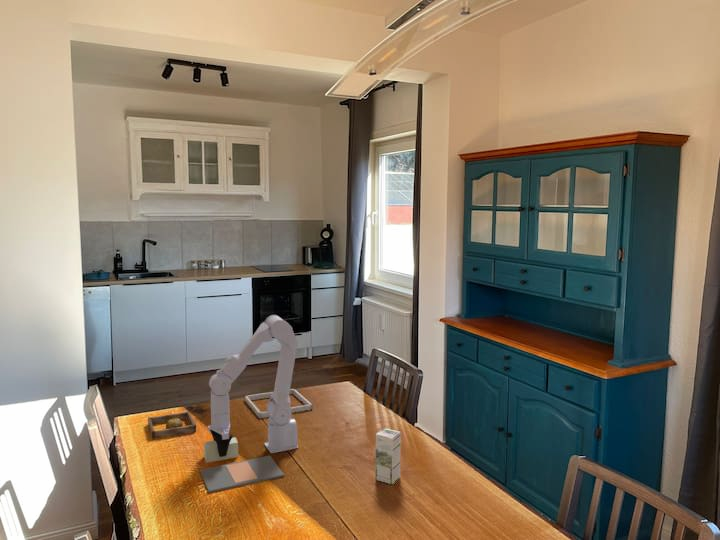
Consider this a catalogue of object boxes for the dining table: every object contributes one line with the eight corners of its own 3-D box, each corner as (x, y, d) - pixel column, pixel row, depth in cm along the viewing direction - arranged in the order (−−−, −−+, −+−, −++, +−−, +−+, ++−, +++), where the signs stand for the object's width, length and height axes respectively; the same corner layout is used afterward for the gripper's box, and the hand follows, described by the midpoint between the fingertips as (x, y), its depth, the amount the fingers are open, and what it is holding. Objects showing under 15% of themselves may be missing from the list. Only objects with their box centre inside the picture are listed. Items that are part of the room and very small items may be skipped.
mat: (270, 457, 175) (270, 455, 175) (284, 476, 162) (284, 474, 162) (199, 471, 165) (199, 469, 165) (208, 492, 152) (208, 490, 152)
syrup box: (400, 477, 162) (401, 430, 160) (391, 486, 157) (392, 437, 155) (384, 472, 165) (384, 426, 163) (374, 481, 160) (375, 433, 158)
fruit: (173, 436, 191) (173, 426, 190) (159, 430, 195) (159, 421, 195) (193, 428, 197) (193, 419, 197) (178, 423, 202) (178, 414, 202)
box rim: (294, 393, 236) (294, 388, 236) (312, 409, 217) (312, 404, 216) (244, 400, 226) (244, 395, 226) (259, 418, 207) (259, 413, 207)
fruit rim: (189, 417, 207) (189, 411, 207) (196, 431, 194) (195, 425, 194) (148, 424, 201) (148, 417, 200) (152, 439, 188) (152, 432, 187)
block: (235, 451, 179) (235, 437, 178) (238, 457, 175) (238, 442, 174) (204, 457, 175) (203, 442, 174) (206, 463, 171) (205, 447, 170)
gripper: (203, 406, 178) (204, 446, 179) (212, 421, 165) (213, 464, 166) (224, 403, 181) (225, 442, 182) (235, 418, 168) (236, 460, 169)
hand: (221, 452), depth 175 cm, fingers closed on block, 4 cm apart
